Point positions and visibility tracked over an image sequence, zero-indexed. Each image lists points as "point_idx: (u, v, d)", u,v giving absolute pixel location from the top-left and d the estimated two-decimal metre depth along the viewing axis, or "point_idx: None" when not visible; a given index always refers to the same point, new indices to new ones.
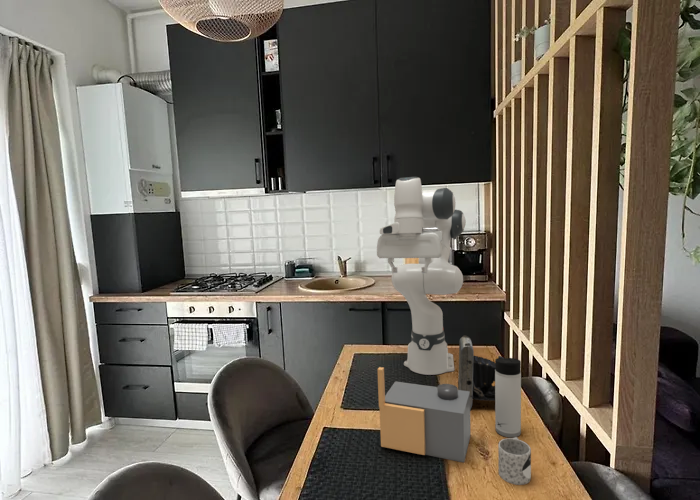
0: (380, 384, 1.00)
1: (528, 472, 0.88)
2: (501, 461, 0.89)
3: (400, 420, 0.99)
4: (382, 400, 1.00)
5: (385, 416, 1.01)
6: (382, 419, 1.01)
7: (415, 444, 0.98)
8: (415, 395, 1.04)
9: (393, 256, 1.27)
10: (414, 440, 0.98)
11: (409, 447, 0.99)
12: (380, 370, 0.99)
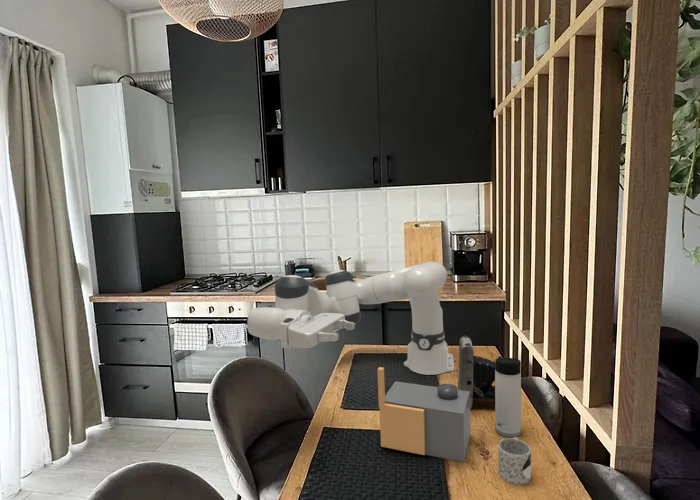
0: (380, 384, 1.00)
1: (528, 472, 0.88)
2: (501, 461, 0.89)
3: (400, 420, 0.99)
4: (382, 400, 1.00)
5: (385, 416, 1.01)
6: (382, 419, 1.01)
7: (415, 444, 0.98)
8: (415, 395, 1.04)
9: (319, 327, 1.01)
10: (414, 440, 0.98)
11: (409, 447, 0.99)
12: (380, 370, 0.99)
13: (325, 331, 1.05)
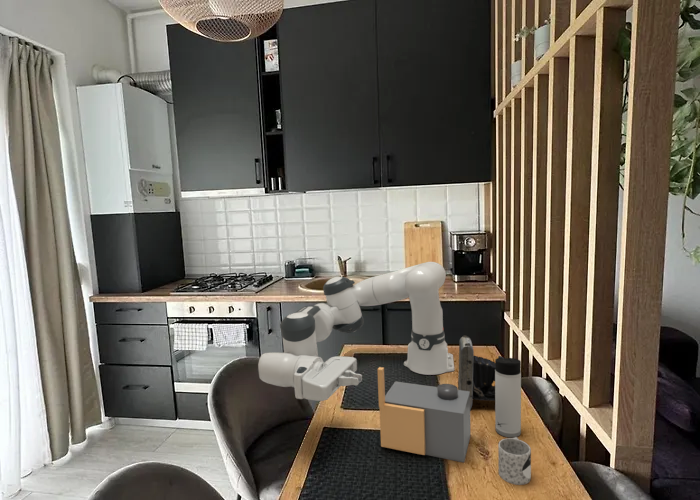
0: (380, 384, 1.00)
1: (528, 472, 0.88)
2: (501, 461, 0.89)
3: (400, 420, 0.99)
4: (382, 400, 1.00)
5: (385, 416, 1.01)
6: (382, 419, 1.01)
7: (415, 444, 0.98)
8: (415, 395, 1.04)
9: (333, 377, 1.00)
10: (414, 440, 0.98)
11: (409, 447, 0.99)
12: (380, 370, 0.99)
13: None
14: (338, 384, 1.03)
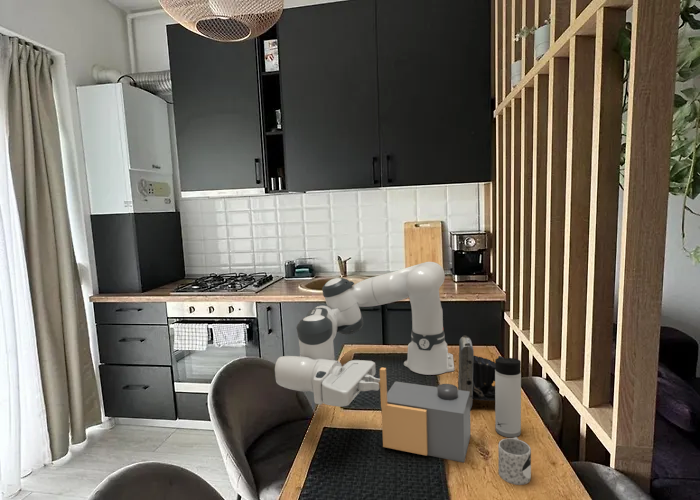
0: (382, 384, 0.99)
1: (528, 472, 0.88)
2: (501, 461, 0.89)
3: (402, 421, 0.99)
4: (384, 400, 1.00)
5: (387, 416, 1.00)
6: (384, 419, 1.01)
7: (417, 444, 0.98)
8: (415, 395, 1.04)
9: (353, 382, 0.98)
10: (416, 440, 0.98)
11: (412, 448, 0.99)
12: (382, 370, 0.99)
13: None
14: (358, 389, 1.00)
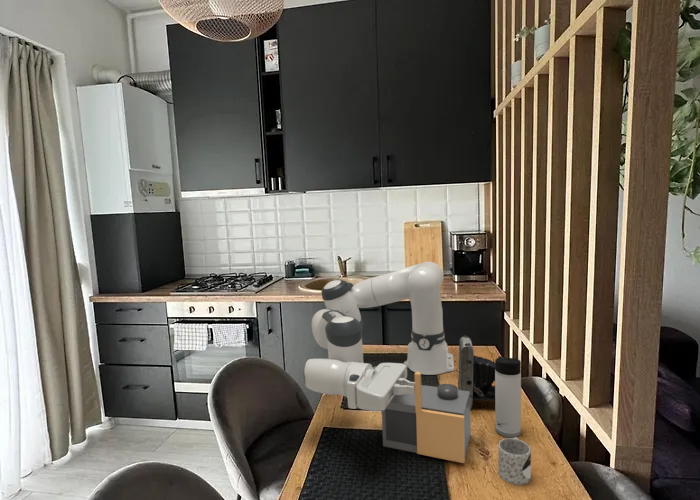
0: (417, 389, 0.96)
1: (528, 472, 0.88)
2: (501, 461, 0.89)
3: (438, 427, 0.95)
4: (419, 406, 0.96)
5: (422, 422, 0.97)
6: (419, 425, 0.97)
7: (454, 452, 0.95)
8: None
9: (388, 386, 0.95)
10: (453, 447, 0.95)
11: (448, 455, 0.95)
12: (417, 375, 0.95)
13: None
14: (393, 393, 0.97)
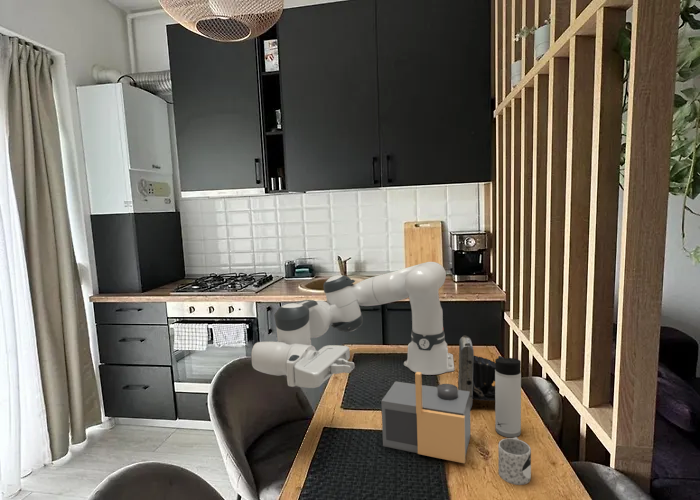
0: (418, 389, 0.96)
1: (528, 472, 0.88)
2: (501, 461, 0.89)
3: (438, 427, 0.95)
4: (420, 406, 0.96)
5: (423, 422, 0.97)
6: (419, 426, 0.97)
7: (455, 452, 0.94)
8: (415, 395, 1.04)
9: (325, 365, 1.01)
10: (454, 448, 0.94)
11: (448, 455, 0.95)
12: (418, 375, 0.95)
13: None
14: (330, 372, 1.03)
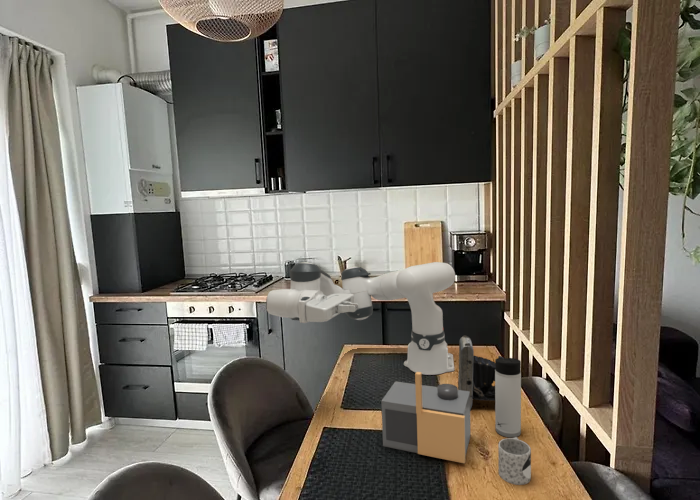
0: (418, 389, 0.96)
1: (528, 472, 0.88)
2: (501, 461, 0.89)
3: (438, 427, 0.95)
4: (420, 406, 0.96)
5: (423, 422, 0.97)
6: (419, 426, 0.97)
7: (455, 452, 0.94)
8: (415, 395, 1.04)
9: (333, 304, 1.14)
10: (454, 448, 0.94)
11: (448, 455, 0.95)
12: (418, 375, 0.95)
13: None
14: (337, 311, 1.16)
